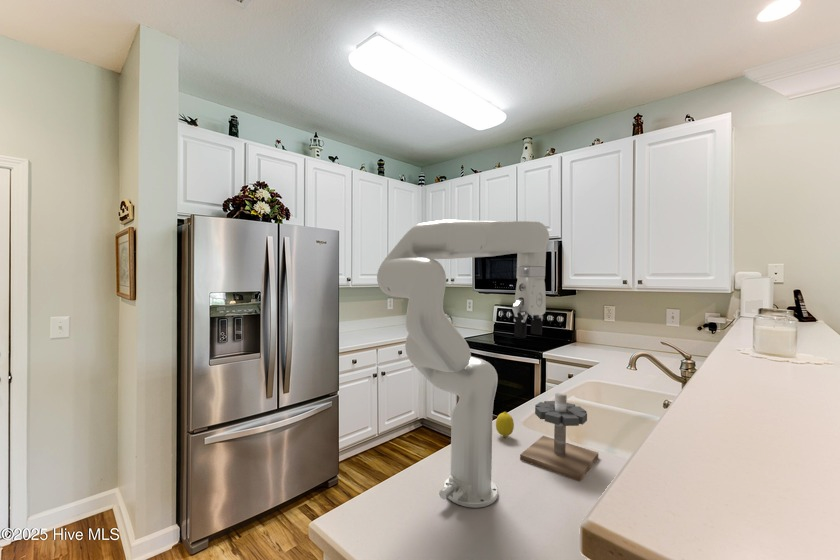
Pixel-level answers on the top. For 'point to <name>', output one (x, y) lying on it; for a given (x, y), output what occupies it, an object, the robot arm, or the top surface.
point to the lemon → (504, 424)
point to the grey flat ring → (561, 414)
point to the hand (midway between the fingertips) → (528, 335)
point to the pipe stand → (560, 451)
